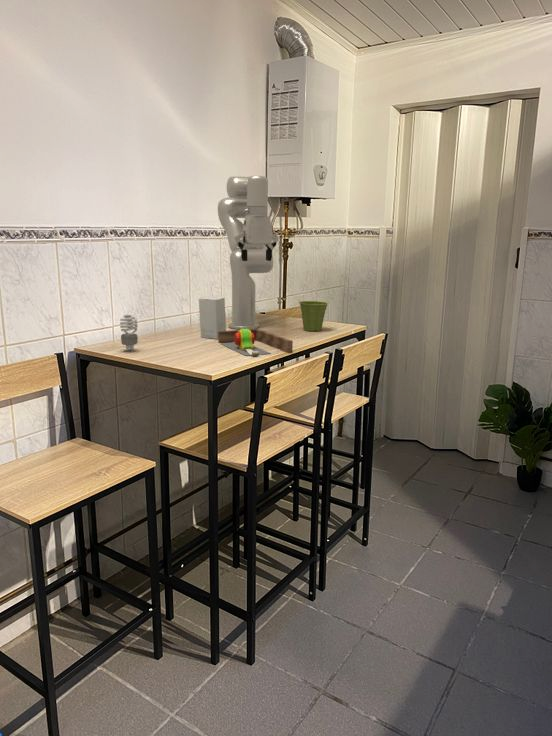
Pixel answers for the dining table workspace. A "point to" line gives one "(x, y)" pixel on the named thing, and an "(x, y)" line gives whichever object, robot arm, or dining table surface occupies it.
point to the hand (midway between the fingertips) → (256, 260)
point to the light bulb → (129, 338)
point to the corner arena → (259, 339)
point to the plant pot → (313, 314)
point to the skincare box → (212, 316)
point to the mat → (237, 349)
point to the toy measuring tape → (245, 341)
